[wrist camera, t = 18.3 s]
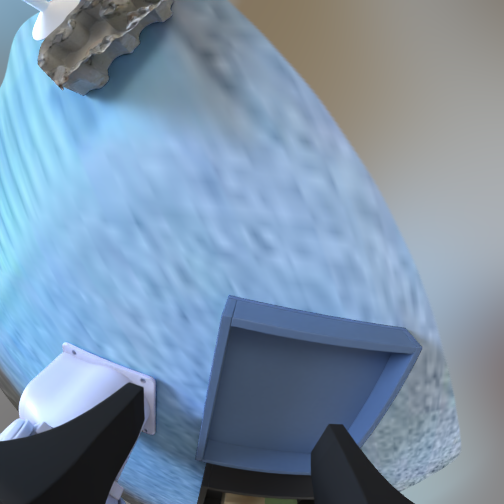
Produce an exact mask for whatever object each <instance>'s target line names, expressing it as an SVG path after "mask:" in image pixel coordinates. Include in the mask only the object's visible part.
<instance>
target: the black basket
mask: <svg viewBox="0 0 504 504" xmlns="http://www.w3.org/2000/svg"><path fill="white" fill-rule="evenodd" d="M222 492H225V493H231V494H237V495H245V496H253V497H263V498H276V499H297V504H315V501H314V494H313V487H312V479H311V475H292V474H277V473H267V472H258V471H250V470H243V469H237V468H231V467H225V466H220V465H215V464H210V463H206V467H205V471H204V475H203V480H202V484H201V488H200V493H199V497H198V501H197V504H221V498H222Z"/></svg>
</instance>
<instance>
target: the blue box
mask: <svg viewBox="0 0 504 504" xmlns="http://www.w3.org/2000/svg"><path fill="white" fill-rule="evenodd" d="M421 350H422V346H421V345H420V344H419V343H418V342H417V341H416V339H415V338H414V337H413V336H412V335H411V334H410V333H409V332H408V330H407V329H406V328H401V327H394V326H388V325H381V324H375V323H368V322H362V321H356V320H350V319H344V318H339V317H333V316H328V315H322V314H317V313H311V312H306V311H301V310H296V309H291V308H286V307H281V306H276V305H272V304H267V303H262V302H257V301H253V300H248V299H244V298H239V297H235V296H231V295H229V296H228V299H227V302H226V305H225V308H224V310H223V313H222V317H221V322H220V327H219V332H218V337H217V342H216V348H215V353H214V358H213V363H212V369H211V374H210V379H209V385H208V390H207V396H206V401H205V407H204V413H203V418H202V424H201V430H200V435H199V441H198V447H197V453H196V459H195V460H197V461H202V462H206V463H210V464H215V465H220V466H225V467H231V468H237V469H243V470H250V471H258V472H267V473H277V474H292V475H311V451H312V450H313V448H314V446H315V445H316V443H317V442H318V440H319V439H320V437H321V435H322V434H323V432H324V431H325V429H326V427H327V426H328V424H343V425H344V427H345V428H346V430H347V431H348V432H349V434H350V435H351V437H352V438H353V439H354V441H355V442H356V444H357V445H358V446H359V448H361V447H362V446H363V444H364V443H365V442H366V440H367V439H368V438H369V436H370V435H371V433H372V432H373V431H374V429H375V428H376V426H377V425H378V424H379V422H380V421H381V419H382V418H383V416H384V415H385V413H386V412H387V410H388V409H389V407H390V405H391V404H392V402H393V401H394V399H395V397H396V396H397V394H398V393H399V391H400V389H401V387H402V386H403V384H404V382H405V380H406V379H407V377H408V375H409V373H410V371H411V370H412V368H413V366H414V364H415V362H416V360H417V358H418V356H419V354H420V352H421Z"/></svg>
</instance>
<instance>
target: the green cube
mask: <svg viewBox="0 0 504 504" xmlns="http://www.w3.org/2000/svg"><path fill="white" fill-rule="evenodd" d="M265 504H297V499H276V498H265Z"/></svg>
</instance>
